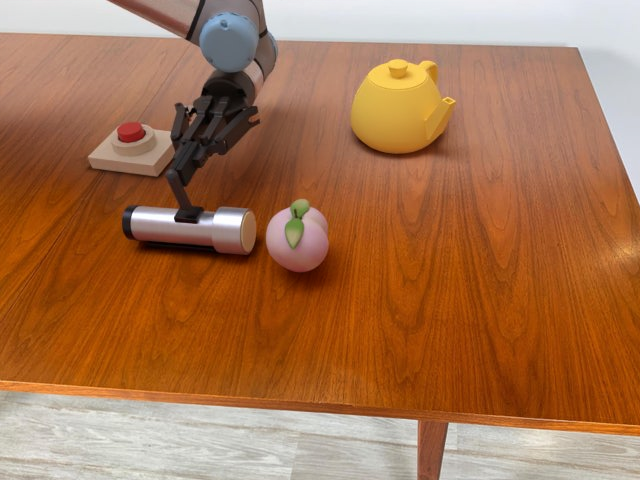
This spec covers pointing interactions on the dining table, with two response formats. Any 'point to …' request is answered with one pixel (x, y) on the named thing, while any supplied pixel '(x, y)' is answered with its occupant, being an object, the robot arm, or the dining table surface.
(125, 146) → the beige dock base
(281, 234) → the decorative fruit
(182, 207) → the flashlight switch
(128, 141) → the dock button
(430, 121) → the teapot
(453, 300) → the dining table surface
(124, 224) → the flashlight
